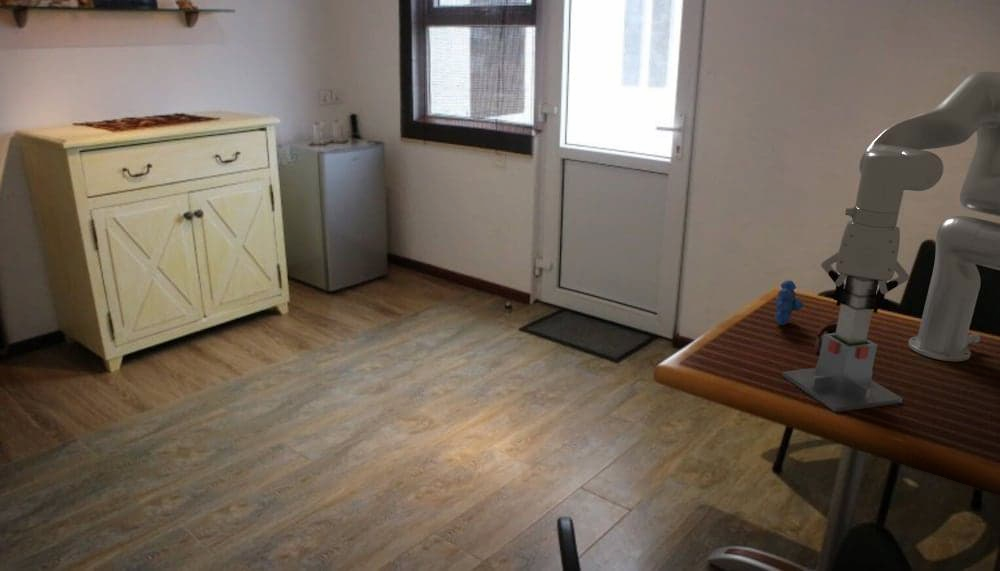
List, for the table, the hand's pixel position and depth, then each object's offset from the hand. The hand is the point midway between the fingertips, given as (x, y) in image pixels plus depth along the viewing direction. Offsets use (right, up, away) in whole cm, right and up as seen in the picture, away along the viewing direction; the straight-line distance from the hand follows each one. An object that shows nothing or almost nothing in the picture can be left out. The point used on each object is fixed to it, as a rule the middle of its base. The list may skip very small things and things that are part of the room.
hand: (856, 306), depth 147 cm
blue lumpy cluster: (0, -6, +38) cm, 39 cm away
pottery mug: (+6, -11, +24) cm, 27 cm away
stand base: (-1, -17, +6) cm, 18 cm away
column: (0, -11, +4) cm, 12 cm away
